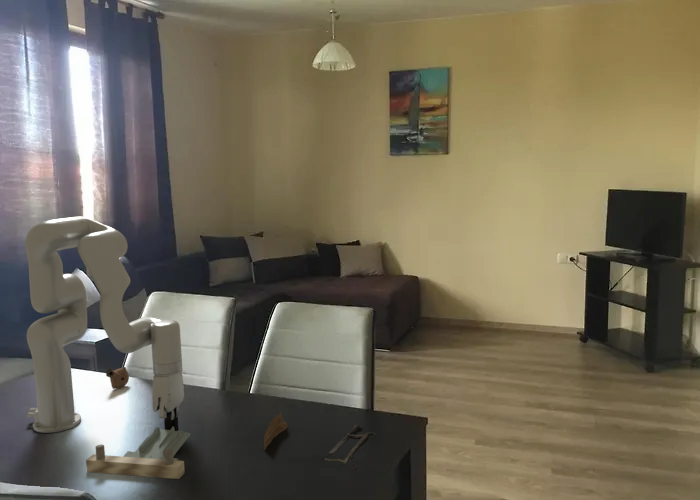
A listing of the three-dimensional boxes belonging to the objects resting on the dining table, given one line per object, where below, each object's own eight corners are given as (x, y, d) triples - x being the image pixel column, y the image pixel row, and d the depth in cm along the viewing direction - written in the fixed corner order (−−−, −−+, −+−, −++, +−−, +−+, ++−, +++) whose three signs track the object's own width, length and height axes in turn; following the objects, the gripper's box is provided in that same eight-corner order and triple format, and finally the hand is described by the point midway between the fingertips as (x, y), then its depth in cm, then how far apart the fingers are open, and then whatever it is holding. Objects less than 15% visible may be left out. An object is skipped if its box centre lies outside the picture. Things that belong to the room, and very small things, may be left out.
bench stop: (86, 471, 155) (85, 448, 154) (93, 465, 158) (92, 442, 157) (179, 478, 151) (177, 455, 150) (184, 472, 154) (183, 449, 153)
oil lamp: (111, 394, 207) (109, 370, 205) (102, 392, 208) (100, 368, 207) (132, 385, 214) (130, 362, 213) (123, 383, 216) (121, 360, 215)
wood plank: (269, 451, 164) (268, 433, 164) (261, 451, 165) (261, 432, 164) (287, 427, 179) (287, 410, 178) (280, 426, 180) (280, 409, 179)
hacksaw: (355, 427, 179) (355, 423, 179) (389, 430, 174) (389, 425, 174) (315, 469, 157) (315, 463, 157) (353, 473, 153) (352, 467, 153)
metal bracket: (149, 420, 173) (197, 426, 168) (154, 437, 175) (202, 443, 170) (116, 457, 160) (167, 464, 155) (122, 474, 163) (173, 483, 158)
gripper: (167, 357, 178) (171, 420, 181) (140, 375, 164) (145, 443, 166) (192, 358, 177) (196, 421, 180) (168, 376, 162) (172, 444, 165)
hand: (171, 431), depth 173 cm, fingers closed
